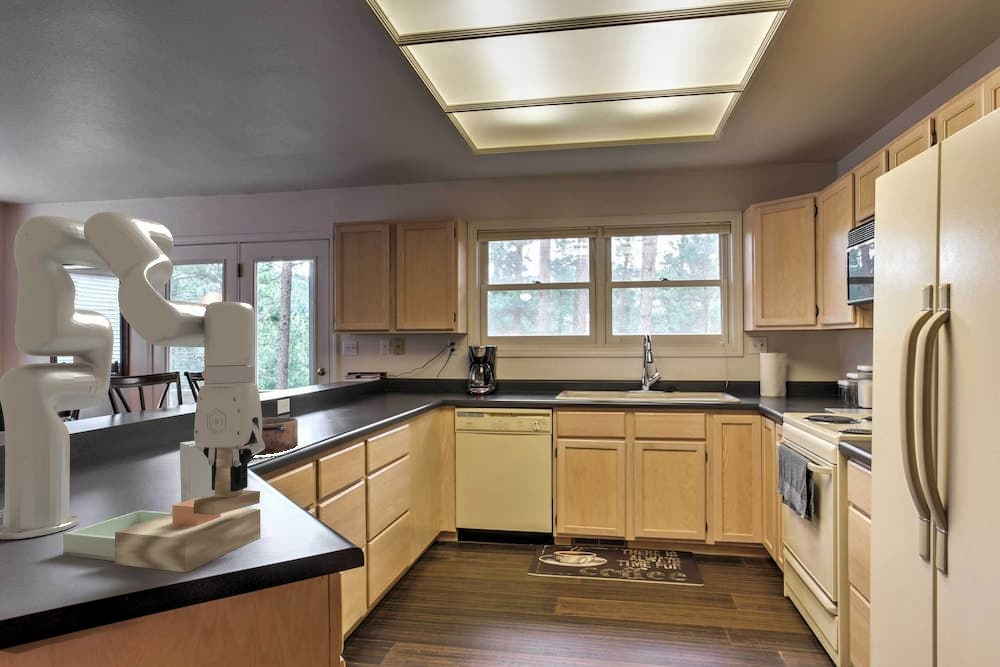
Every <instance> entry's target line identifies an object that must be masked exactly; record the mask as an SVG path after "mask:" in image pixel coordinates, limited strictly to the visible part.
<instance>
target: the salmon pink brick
mask: <svg viewBox="0 0 1000 667" xmlns="http://www.w3.org/2000/svg"><path fill="white" fill-rule="evenodd" d="M198 499H202V498H194V499H191V500H188V501H185V502H181V501H180V502H179V503H175V504H173V505H172V506H171V508H172V511H171V513H172V524H180V525H192V526H198V525H201V524H203V523H206V522H209V521H211V520H214V519H217V518H219V517H221V514H217V515H206V514H194V513H193V510H194V500H198Z"/></svg>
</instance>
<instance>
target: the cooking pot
mask: <svg viewBox="0 0 1000 667" xmlns="http://www.w3.org/2000/svg"><path fill="white" fill-rule="evenodd" d="M298 428H299V427H298V418H295V417H262V439H263V441H264V444H265V446H266V447H265V449H264V450H262V451H261V452H259V453H257V454H256V455H266V454H274V453H279V452H283V451H287V450H290V449H293V448H295V447H296V446H298V447H299V445H298V442H299V441H298V440H299V439H298V438H299V434H298V432H299V431H298V430H299V429H298ZM251 446H252V444H250V447H251Z"/></svg>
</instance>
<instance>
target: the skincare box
mask: <svg viewBox="0 0 1000 667" xmlns="http://www.w3.org/2000/svg"><path fill="white" fill-rule="evenodd" d="M195 444H196V443H195V441H194V440H190V441H183V442H179V464H180V465H179V466H180V472H179V474H180V503H181V502H185V501H188V500H191V499H194V498H207V497H211V496H214V491H215V490H212V465H209V464H208V459H207V457H206V456H205V455H204V453H203V452H201V451H200V450H199V449H197V448H196V447H195Z"/></svg>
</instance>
